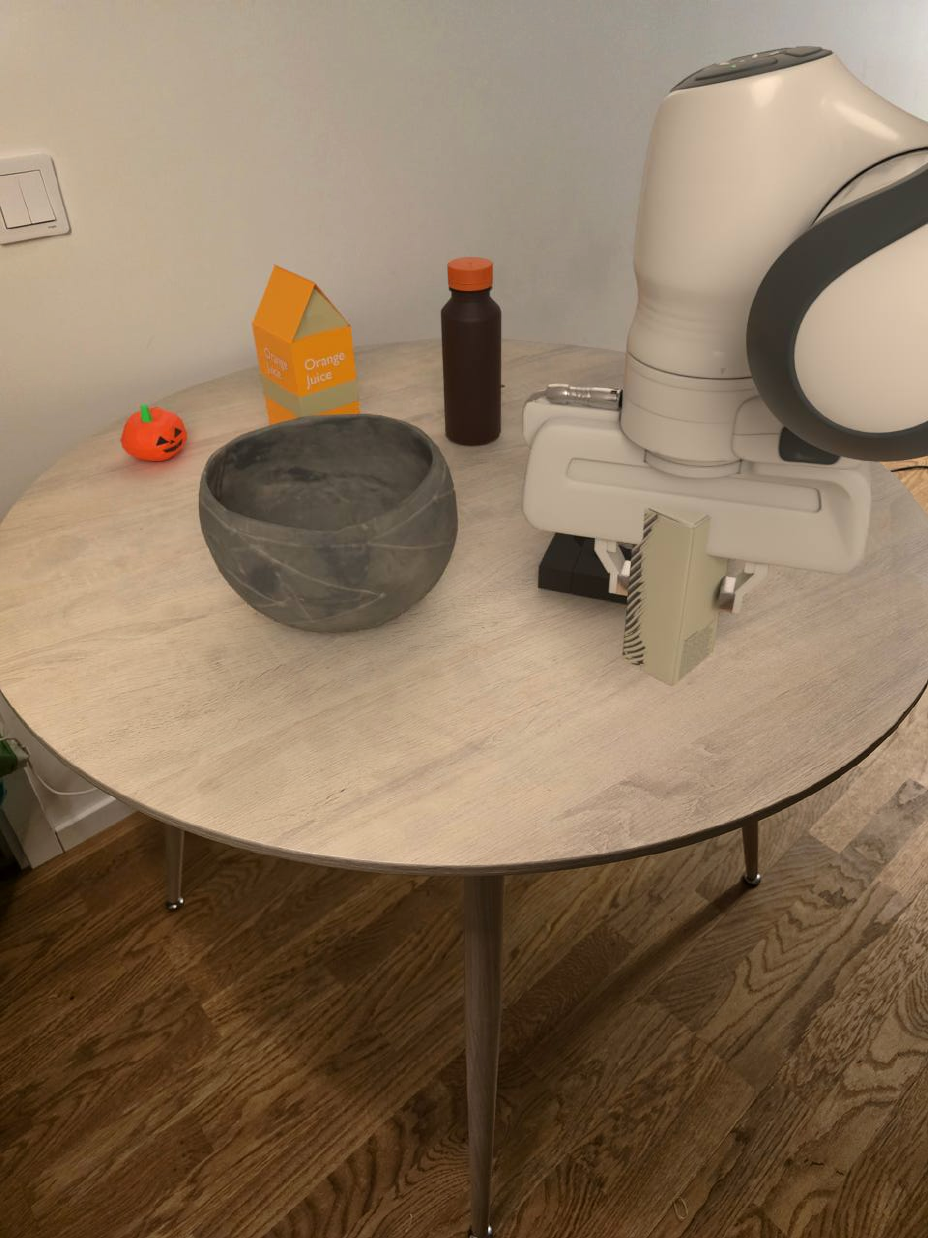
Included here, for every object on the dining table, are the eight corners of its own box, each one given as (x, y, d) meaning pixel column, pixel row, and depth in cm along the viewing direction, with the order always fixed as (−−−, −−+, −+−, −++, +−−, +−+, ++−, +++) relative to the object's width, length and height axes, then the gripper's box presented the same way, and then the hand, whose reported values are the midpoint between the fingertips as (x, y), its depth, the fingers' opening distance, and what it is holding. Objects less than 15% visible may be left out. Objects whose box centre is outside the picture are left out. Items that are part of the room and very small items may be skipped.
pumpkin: (196, 438, 106) (184, 388, 102) (181, 470, 100) (168, 418, 96) (137, 440, 106) (123, 390, 102) (119, 472, 99) (103, 420, 95)
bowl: (188, 596, 80) (148, 450, 71) (379, 519, 90) (365, 382, 81) (297, 722, 67) (266, 563, 58) (507, 615, 77) (508, 465, 68)
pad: (734, 517, 89) (739, 496, 87) (713, 621, 76) (718, 598, 74) (582, 493, 93) (584, 473, 92) (537, 588, 80) (538, 566, 79)
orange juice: (308, 467, 99) (281, 290, 87) (271, 441, 105) (240, 271, 92) (365, 447, 103) (347, 274, 91) (326, 422, 108) (304, 256, 96)
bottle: (511, 437, 104) (513, 265, 92) (463, 452, 101) (459, 276, 89) (482, 416, 109) (480, 250, 96) (435, 430, 106) (427, 260, 94)
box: (662, 627, 62) (682, 467, 54) (715, 654, 60) (745, 490, 52) (617, 663, 59) (631, 499, 51) (670, 692, 57) (694, 526, 49)
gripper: (506, 402, 48) (508, 599, 57) (902, 445, 43) (838, 657, 51) (537, 360, 53) (534, 548, 62) (897, 394, 47) (840, 597, 56)
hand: (675, 598), depth 56 cm, fingers closed on box, 5 cm apart
